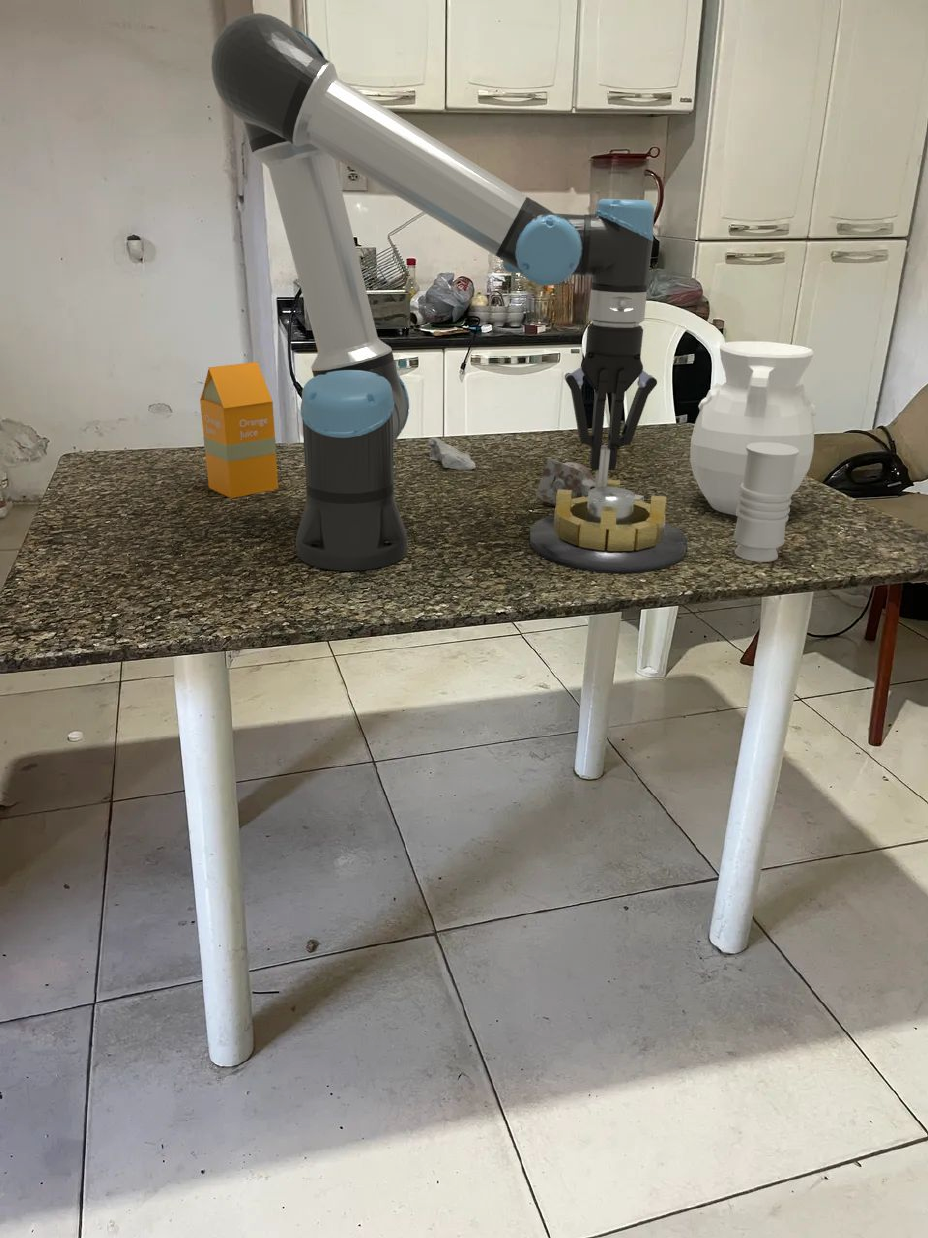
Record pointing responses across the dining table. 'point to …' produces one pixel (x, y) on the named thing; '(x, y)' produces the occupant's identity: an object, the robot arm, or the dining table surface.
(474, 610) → the dining table surface
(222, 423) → the orange juice
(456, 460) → the mineral specimen
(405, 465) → the dining table surface
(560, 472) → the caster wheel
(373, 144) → the robot arm
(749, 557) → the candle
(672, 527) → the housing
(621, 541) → the ring nut
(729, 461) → the pitcher
